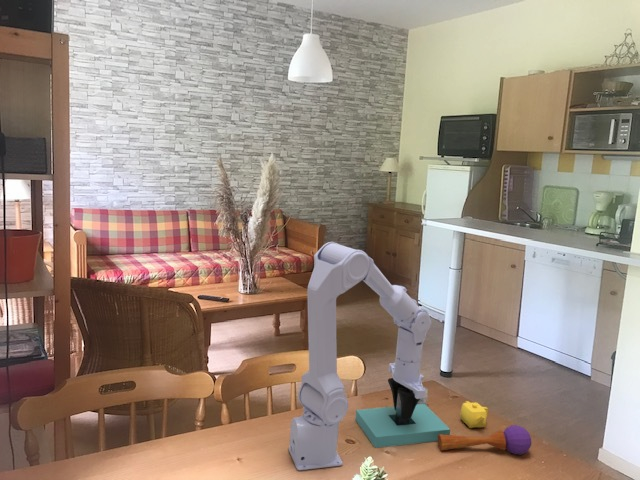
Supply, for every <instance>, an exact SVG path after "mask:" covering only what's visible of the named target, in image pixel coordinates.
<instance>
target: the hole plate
mask: <svg viewBox="0 0 640 480" xmlns="http://www.w3.org/2000/svg"><path fill="white" fill-rule="evenodd" d="M395 416H396V410H395V409H394V406H387V407H374V408H373V407H372V408H362V409H356V410H355V419H354V420H355V422H356V423H357V424H358V426H359V427H360V429H361V430H362V432H363V433H364V434H365V436H366V437H367V439H368V440H369V442H370V443H371V444H372V446H373V448H375V449H376V448H387V447H395V446H403V445H404V446H405V445H414V444H422V443H430V442H431V443H432V442H438V435H439V434H441V435H450V433H451V428H449V427H448V425H447V424H446V423H445V422H443V421H442V419H441V418H440V417H439V416H437V414H436V413H435V412H433V411H432V410H431V408H430V407H428V405H427V404H426V405H425V404H418V405H416V407H415V409H414V412H413V414H412V417H411V418H409V425H399V426H397V425H396V424H395Z"/></svg>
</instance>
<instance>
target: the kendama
mask: <svg viewBox="0 0 640 480" xmlns="http://www.w3.org/2000/svg"><path fill="white" fill-rule="evenodd" d="M485 444H486V445H489V446H492V447H494V448H495V449H499V450H501V451H505V450H507V451H508V452H509V453H511V454H514V455H524V454H525V453H527V452H529V450H530V448H531V446H532V437H531V435H530V432H529V431H528V430H527V429H526V428H525V427H524V426H521V425H518V424H513V425H512V424H511V425H510V426H508V427H506V428H504V431H503V430H501V429H500V430H498V431H496V432H493V433H492V434H491V435H489V436H487V437H477V436H476V437H475V436H474V437H473V436H464V435H463V436H462V435H452V434H451V435H441V434H439V435H438V441H437V446H438V448H439V451H441V452H442V451H447V450H448V451H449V450H455V449H461V448H467V447H472V446H479V445H480V446H481V445H485Z"/></svg>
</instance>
